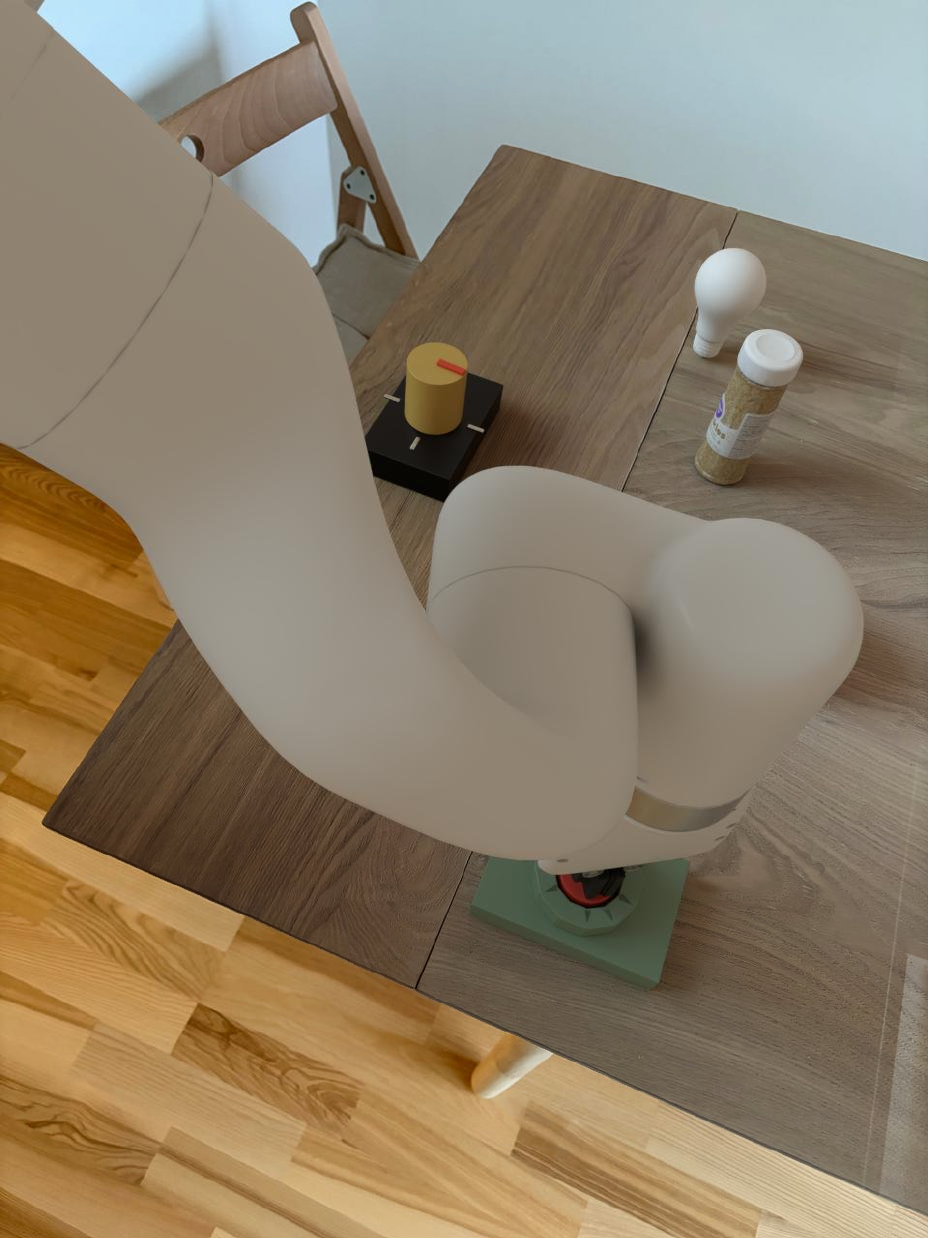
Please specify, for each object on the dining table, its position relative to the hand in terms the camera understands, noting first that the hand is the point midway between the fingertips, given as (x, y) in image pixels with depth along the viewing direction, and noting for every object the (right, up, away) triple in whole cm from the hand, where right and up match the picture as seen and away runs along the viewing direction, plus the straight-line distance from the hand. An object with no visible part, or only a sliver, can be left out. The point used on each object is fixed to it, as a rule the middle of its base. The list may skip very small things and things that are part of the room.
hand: (592, 872), depth 57 cm
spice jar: (+14, +28, +25) cm, 40 cm away
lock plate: (-11, +31, +24) cm, 40 cm away
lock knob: (-10, +32, +21) cm, 40 cm away
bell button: (0, -1, +2) cm, 2 cm away
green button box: (0, -2, +4) cm, 4 cm away
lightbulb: (+15, +40, +33) cm, 54 cm away
